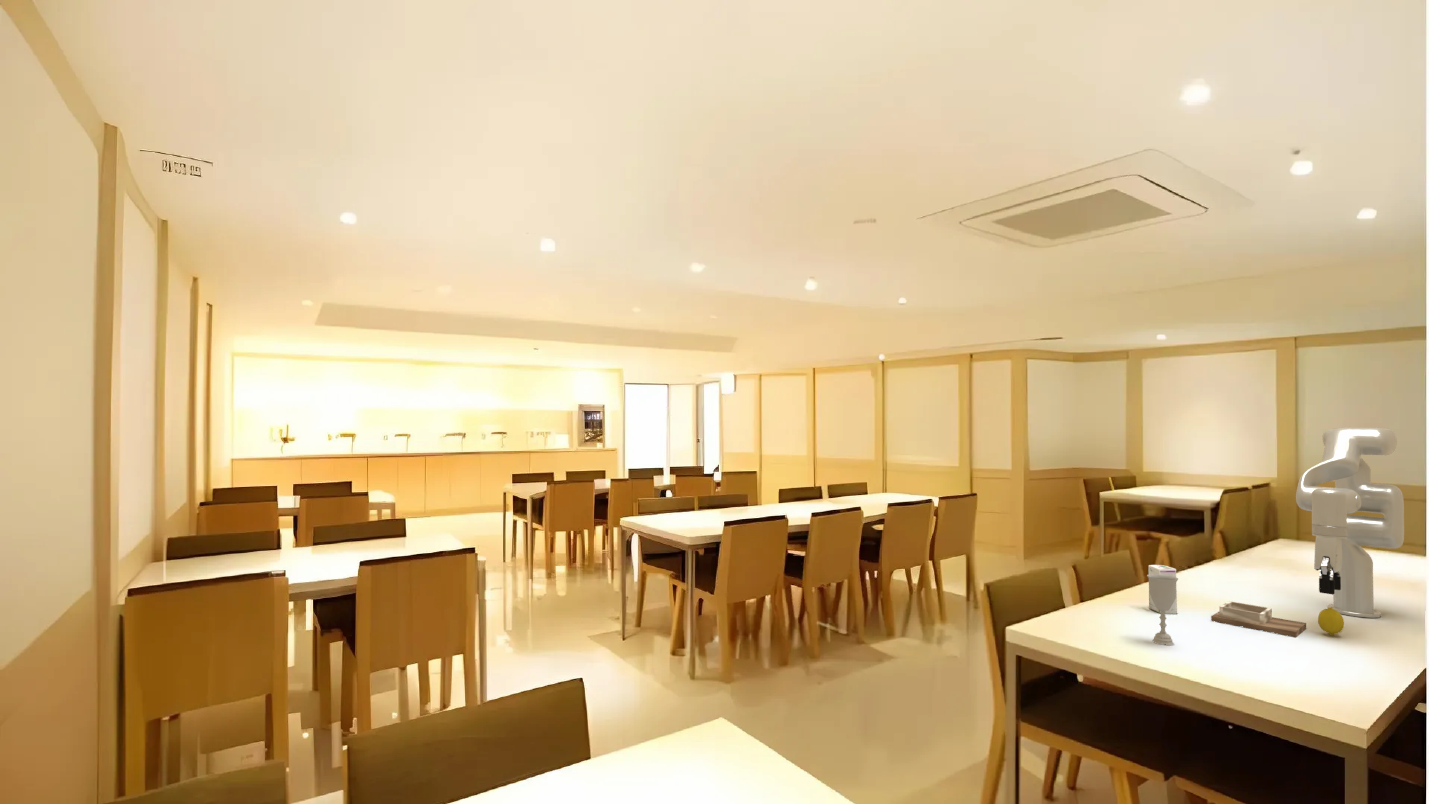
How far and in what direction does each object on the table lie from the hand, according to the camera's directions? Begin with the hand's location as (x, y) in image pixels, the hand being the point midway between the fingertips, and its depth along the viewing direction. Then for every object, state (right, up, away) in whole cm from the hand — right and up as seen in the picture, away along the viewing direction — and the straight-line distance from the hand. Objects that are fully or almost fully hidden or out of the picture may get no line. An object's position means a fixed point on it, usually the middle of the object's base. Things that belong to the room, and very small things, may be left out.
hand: (1330, 591), depth 194 cm
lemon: (0, -13, 0) cm, 13 cm away
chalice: (-54, -12, -8) cm, 56 cm away
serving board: (-13, -13, +10) cm, 21 cm away
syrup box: (-33, -13, +23) cm, 42 cm away
